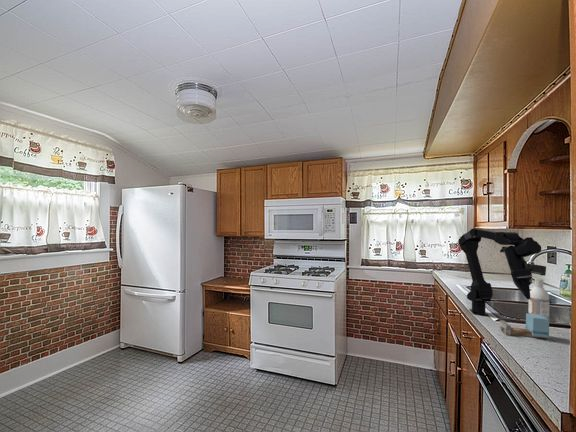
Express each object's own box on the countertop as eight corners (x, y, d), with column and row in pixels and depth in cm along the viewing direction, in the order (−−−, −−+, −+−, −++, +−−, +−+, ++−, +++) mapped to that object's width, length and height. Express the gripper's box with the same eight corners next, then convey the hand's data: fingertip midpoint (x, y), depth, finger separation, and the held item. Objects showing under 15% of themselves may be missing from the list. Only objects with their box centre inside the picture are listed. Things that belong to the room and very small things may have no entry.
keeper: (533, 335, 108) (533, 317, 108) (525, 330, 113) (526, 313, 113) (548, 337, 106) (549, 319, 106) (540, 332, 112) (541, 314, 112)
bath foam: (526, 318, 130) (526, 276, 130) (545, 321, 126) (546, 278, 127) (531, 323, 123) (531, 279, 124) (551, 326, 120) (552, 281, 120)
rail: (505, 335, 111) (506, 325, 111) (499, 329, 116) (499, 320, 116) (549, 340, 106) (549, 330, 106) (540, 334, 112) (540, 324, 112)
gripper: (541, 251, 105) (557, 293, 99) (539, 261, 118) (554, 298, 112) (505, 256, 111) (518, 296, 105) (507, 265, 125) (519, 300, 118)
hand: (528, 298), depth 110 cm, fingers open, 9 cm apart
